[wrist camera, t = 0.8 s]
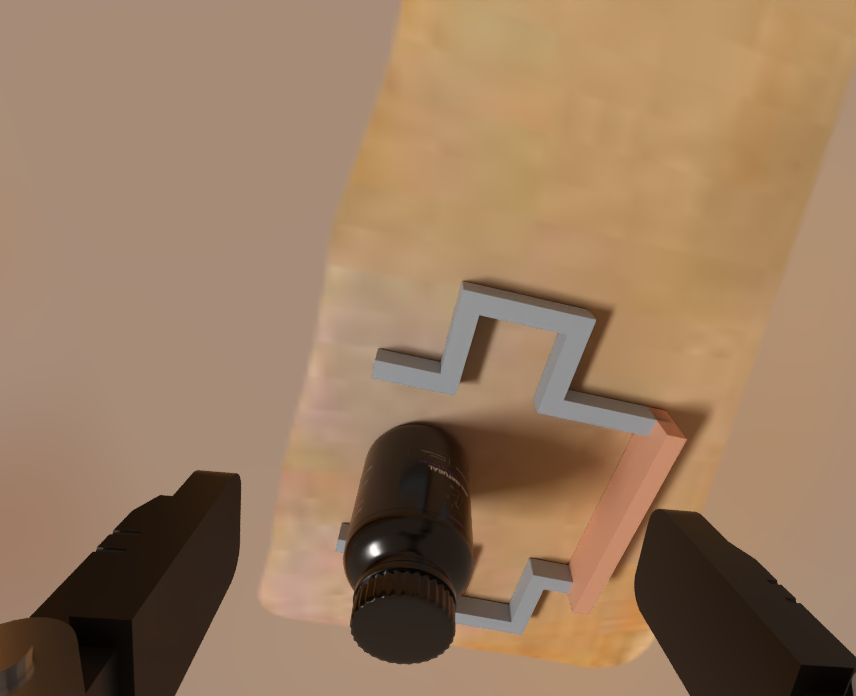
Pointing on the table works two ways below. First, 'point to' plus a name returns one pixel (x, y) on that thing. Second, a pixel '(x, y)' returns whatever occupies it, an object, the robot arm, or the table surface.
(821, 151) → the table surface
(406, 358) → the grey zigzag frame
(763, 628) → the robot arm
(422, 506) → the supplement bottle
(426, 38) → the table surface
